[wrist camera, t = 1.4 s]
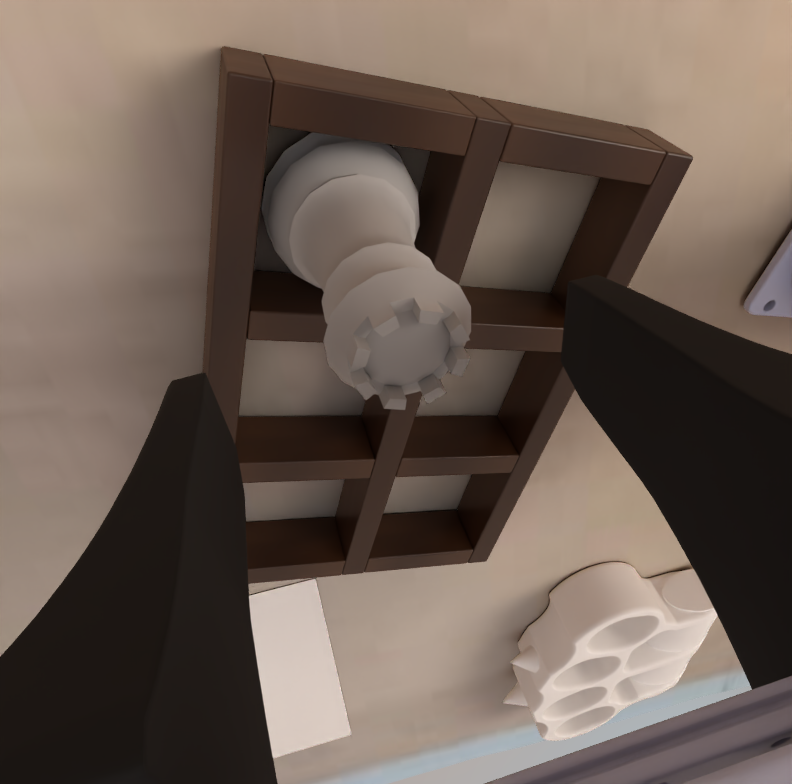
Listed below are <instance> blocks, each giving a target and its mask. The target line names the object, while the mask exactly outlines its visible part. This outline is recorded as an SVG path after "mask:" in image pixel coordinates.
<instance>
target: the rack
mask: <svg viewBox="0 0 792 784" xmlns="http://www.w3.org/2000/svg"><path fill="white" fill-rule="evenodd" d="M269 124H270V125H271V126H276V127H282V128H289V129H295V130H301V131H308V132H314V133H321V134H327V135H333V136H340V137H346V138H352V139H359V140H365V141H371V142H378V143H384V144H390V145H397V146H403V147H409V148H416V149H422V150H428V151H431V153H430V157H429V161H428V165H427V169H426V172H425V176H424V180H423V184H422V188H421V192H420V195H419V199H418V204H419V220H420V226H419V229H418V232H417V235H416V239H415V242H414V245H415V249H417V250H418V251H420V252H421V253H423V254H424V255H426V256H427V257H429V258H430V260H431V262H432V263H433V265H434V267H435V269H436V271H438V272H440V273H441V274H443V275H444V276H446V277H447V278H449V279H450V280H452V281H453V282H455V283H456V284H459V281H460V278H461V275H462V272H463V269H464V266H465V263H466V260H467V257H468V254H469V251H470V248H471V245H472V242H473V238H474V235H475V232H476V229H477V226H478V223H479V220H480V217H481V214H482V211H483V208H484V205H485V202H486V199H487V196H488V193H489V190H490V187H491V184H492V181H493V178H494V175H495V172H496V169H497V166H498V162H499V161H501V162H506V163H512V164H519V165H525V166H531V167H538V168H544V169H550V170H557V171H563V172H569V173H576V174H582V175H588V176H595V177H601V179H600V182H599V184H598V186H597V189H596V191H595V193H594V195H593V198H592V200H591V202H590V205H589V207H588V209H587V212H586V214H585V216H584V219H583V221H582V223H581V225H580V228H579V230H578V232H577V235H576V237H575V239H574V242H573V244H572V246H571V248H570V251H569V253H568V255H567V258H566V260H565V262H564V265H563V267H562V269H561V272H560V274H559V276H558V278H557V281H556V283H555V285H554V288H553V290H552V292H551V294H550V293H542V292H529V291H516V290H503V289H490V288H477V287H465V286H460V287H461V289H462V291H463V293H464V295H465V296H466V298H467V300H468V302H469V304H470V306H471V333H470V335H469V338H470V340H469V341H467V342H466V344H465V346H464V348H467V349H492V350H517V351H526V352H525V355H524V357H523V359H522V362H521V364H520V366H519V368H518V371H517V373H516V375H515V378H514V380H513V382H512V385H511V387H510V389H509V391H508V394H507V396H506V398H505V401H504V403H503V405H502V408H501V410H500V412H499V415H498V417H496V416H415V415H416V412H417V409H418V406H419V403H420V400H421V397H422V392H421V391H419V392H415V393H411V394H407V395H405V397H406V399H407V401H406V407H405V410H398V409H384V408H383V405H382V403H381V400H380V397H379V395H376V394H374V395H372V396H371V397H370V398H369V399H367V400H366V402H365V406H364V410H363V413H362V417H360V416H316V417H238V414H239V405H240V395H241V386H242V376H243V367H244V358H245V348H246V339H249V340H272V341H297V342H322V343H324V341H323V340H324V337H325V333H326V329H327V326H328V324H327V323H326V322H325V317H324V312H323V306H322V298H323V294H324V292H323V290H322V288H318V287H316V286H314V285H312V284H310V283H309V282H307V281H305V280H303V279H301V278H300V277H298V276H296V275H295V274H294V273H281V272H268V271H255V270H254V263H255V253H256V244H257V234H258V225H259V215H260V206H261V196H262V187H263V177H264V168H265V158H266V149H267V139H268V130H269ZM692 160H693V157H692V156H691V155H690V154H688V153H687V152H685V151H683V150H682V149H680V148H678V147H676V146H675V145H673V144H671V143H670V142H668V141H666V140H665V139H663V138H661V137H660V136H658V135H656V134H655V133H653V132H651V131H650V130H647V129H642V128H637V127H632V126H624V125H622V124H617V123H612V122H607V121H602V120H597V119H592V118H587V117H581V116H576V115H571V114H566V113H561V112H556V111H551V110H546V109H541V108H536V107H531V106H525V105H520V104H515V103H510V102H505V101H500V100H495V99H490V98H485V97H480V98H479V97H478V96H475V95H470V94H465V93H460V92H455V91H446V90H445V89H440V88H435V87H430V86H424V85H419V84H414V83H409V82H404V81H399V80H394V79H389V78H384V77H379V76H374V75H368V74H363V73H358V72H353V71H348V70H343V69H338V68H333V67H328V66H323V65H317V64H312V63H307V62H302V61H297V60H292V59H287V58H282V57H277V56H272V55H267V54H264V55H263V56H262V54H260V53H255V52H250V51H245V50H240V49H235V48H230V47H225V46H224V47H222V48H221V58H220V76H219V93H218V111H217V128H216V146H215V163H214V181H213V198H212V216H211V233H210V251H209V268H208V286H207V303H206V321H205V339H204V356H203V373H206V375H207V378H208V380H209V382H210V385H211V387H212V390H213V392H214V394H215V397H216V399H217V402H218V404H219V406H220V409H221V411H222V414H223V416H224V419H225V421H226V423H227V426H228V428H229V431H230V433H231V435H232V438H233V440H234V443H235V445H236V448H237V453H238V459H239V465H240V470H241V476H242V482H243V483H254V482H280V481H307V480H333V479H345V482H344V486H343V490H342V494H341V497H340V501H339V505H338V509H337V513H336V517H327V518H310V519H293V520H276V521H259V522H246V540H247V564H248V584H251V583H262V582H272V581H283V580H294V579H305V578H316V577H326V576H337V575H341V574H342V575H346V574H357V573H363V572H376V571H387V570H398V569H409V568H420V567H430V566H441V565H452V564H463V563H467V562H468V563H474V562H485V561H487V559H488V557H489V555H490V553H491V551H492V549H493V547H494V546H495V544H496V542H497V540H498V538H499V536H500V534H501V532H502V530H503V528H504V526H505V524H506V522H507V520H508V518H509V516H510V514H511V512H512V510H513V508H514V507H515V505H516V503H517V501H518V499H519V497H520V495H521V493H522V491H523V489H524V487H525V485H526V483H527V481H528V479H529V477H530V475H531V473H532V471H533V470H534V468H535V466H536V464H537V462H538V460H539V458H540V456H541V454H542V452H543V450H544V448H545V446H546V444H547V442H548V440H549V438H550V436H551V434H552V433H553V431H554V429H555V427H556V425H557V423H558V421H559V419H560V417H561V415H562V413H563V411H564V409H565V407H566V405H567V403H568V401H569V399H570V397H571V396H572V394H573V392H574V390H575V388H574V386H573V384H572V382H571V380H570V378H569V376H568V375H567V373H566V371H565V369H564V367H563V365H562V363H561V350H562V340H563V329H564V319H565V308H566V297H567V287H568V282H569V281H573V280H577V279H581V278H585V277H589V276H593V275H599V276H602V277H604V278H607V279H609V280H612V281H614V282H616V283H618V284H621V285H623V286H625V287H627V286H628V284H629V283H630V281H631V279H632V277H633V275H634V273H635V271H636V269H637V267H638V265H639V263H640V261H641V259H642V257H643V255H644V253H645V251H646V249H647V247H648V246H649V244H650V242H651V240H652V238H653V236H654V234H655V232H656V230H657V228H658V226H659V224H660V222H661V220H662V218H663V216H664V214H665V212H666V210H667V209H668V207H669V205H670V203H671V201H672V199H673V197H674V195H675V193H676V191H677V189H678V187H679V185H680V183H681V181H682V179H683V177H684V175H685V173H686V171H687V170H688V168H689V166H690V164H691V162H692ZM462 474H473V475H472V477H471V479H470V481H469V484H468V486H467V488H466V491H465V493H464V495H463V498H462V500H461V502H460V505H459V507H458V509H457V511H456V510H450V511H434V512H417V513H400V514H383V512H384V509H385V506H386V503H387V500H388V497H389V494H390V491H391V488H392V485H393V482H394V479H395V476H396V477H409V476H435V475H462Z"/></svg>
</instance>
